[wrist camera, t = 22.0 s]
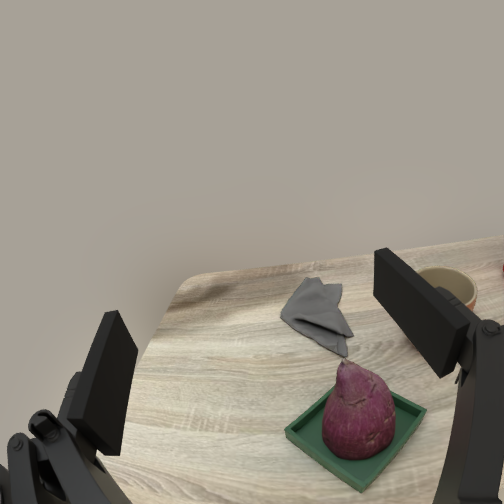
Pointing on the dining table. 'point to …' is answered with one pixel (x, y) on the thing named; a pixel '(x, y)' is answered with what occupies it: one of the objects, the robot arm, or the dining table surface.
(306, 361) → the dining table surface
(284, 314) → the cloth
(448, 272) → the planter
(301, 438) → the green tray
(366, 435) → the vegetable
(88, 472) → the robot arm
